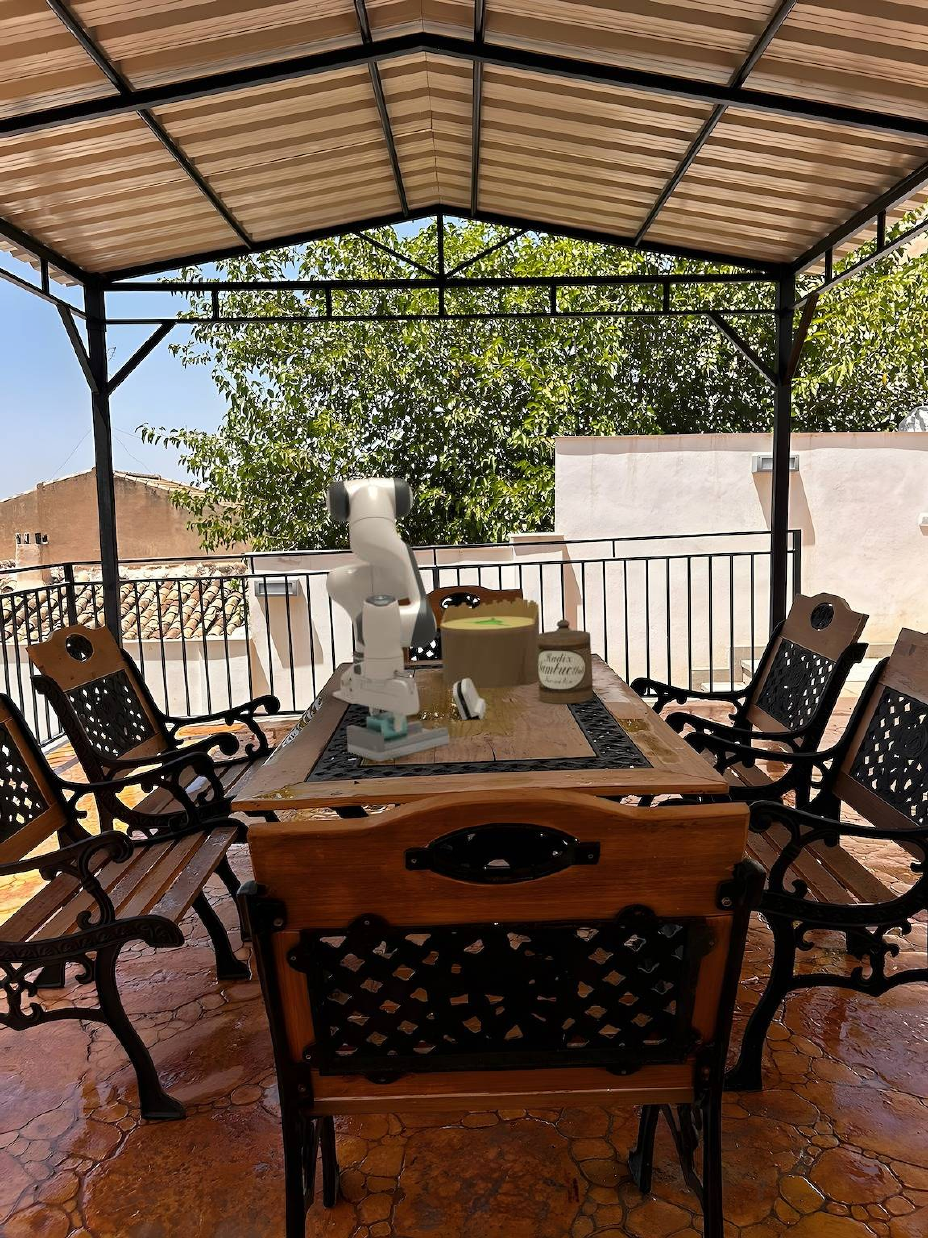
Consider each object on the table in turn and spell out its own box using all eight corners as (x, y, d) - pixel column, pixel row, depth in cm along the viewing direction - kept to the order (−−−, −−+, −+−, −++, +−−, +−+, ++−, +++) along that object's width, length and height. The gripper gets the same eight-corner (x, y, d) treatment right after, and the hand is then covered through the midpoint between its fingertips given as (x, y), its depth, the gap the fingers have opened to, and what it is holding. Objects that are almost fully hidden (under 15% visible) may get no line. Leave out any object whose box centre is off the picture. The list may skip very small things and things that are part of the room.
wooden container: (532, 703, 245) (529, 623, 242) (548, 692, 259) (545, 616, 256) (585, 705, 239) (583, 623, 237) (598, 694, 253) (596, 616, 250)
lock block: (367, 738, 202) (366, 716, 202) (394, 731, 207) (393, 710, 206) (382, 742, 198) (380, 720, 197) (409, 735, 203) (408, 714, 202)
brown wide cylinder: (488, 665, 307) (485, 595, 304) (566, 676, 282) (564, 599, 279) (417, 680, 286) (413, 605, 283) (495, 693, 260) (491, 611, 257)
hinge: (482, 719, 228) (467, 683, 227) (464, 726, 229) (450, 690, 228) (486, 705, 245) (472, 671, 244) (470, 711, 245) (456, 677, 245)
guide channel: (347, 752, 203) (346, 726, 202) (417, 734, 216) (416, 710, 215) (379, 762, 194) (377, 735, 193) (449, 743, 207) (448, 717, 206)
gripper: (424, 671, 195) (427, 733, 197) (369, 661, 210) (372, 719, 212) (401, 675, 191) (404, 739, 192) (347, 665, 206) (350, 724, 208)
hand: (387, 728), depth 202 cm, fingers closed on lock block, 5 cm apart
